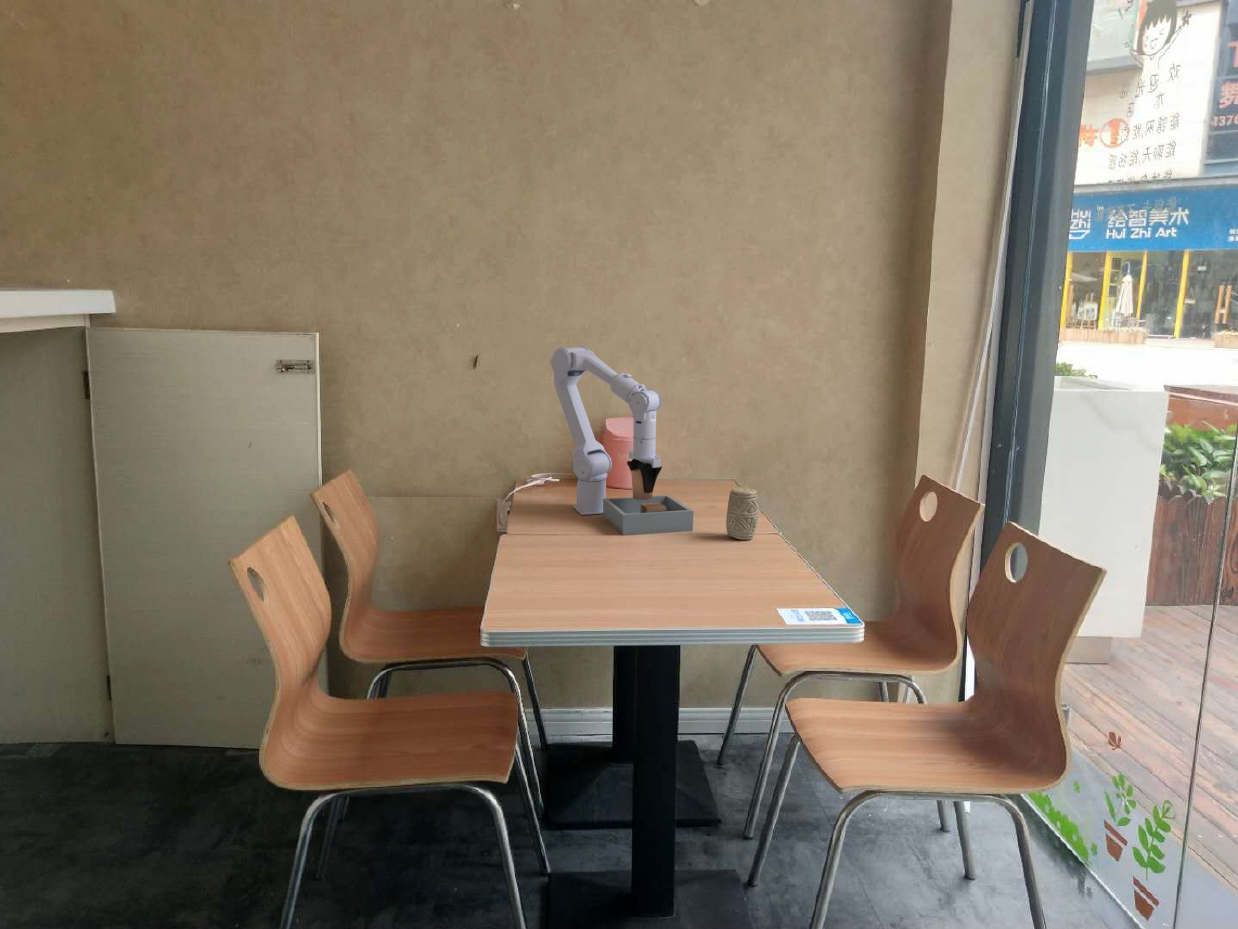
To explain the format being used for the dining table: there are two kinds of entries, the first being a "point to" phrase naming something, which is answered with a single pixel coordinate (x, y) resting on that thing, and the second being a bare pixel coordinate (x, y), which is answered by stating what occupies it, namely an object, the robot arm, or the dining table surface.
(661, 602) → the dining table surface
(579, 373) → the robot arm
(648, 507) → the walnut cube
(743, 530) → the carving
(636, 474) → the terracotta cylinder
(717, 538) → the dining table surface
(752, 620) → the dining table surface
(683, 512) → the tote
